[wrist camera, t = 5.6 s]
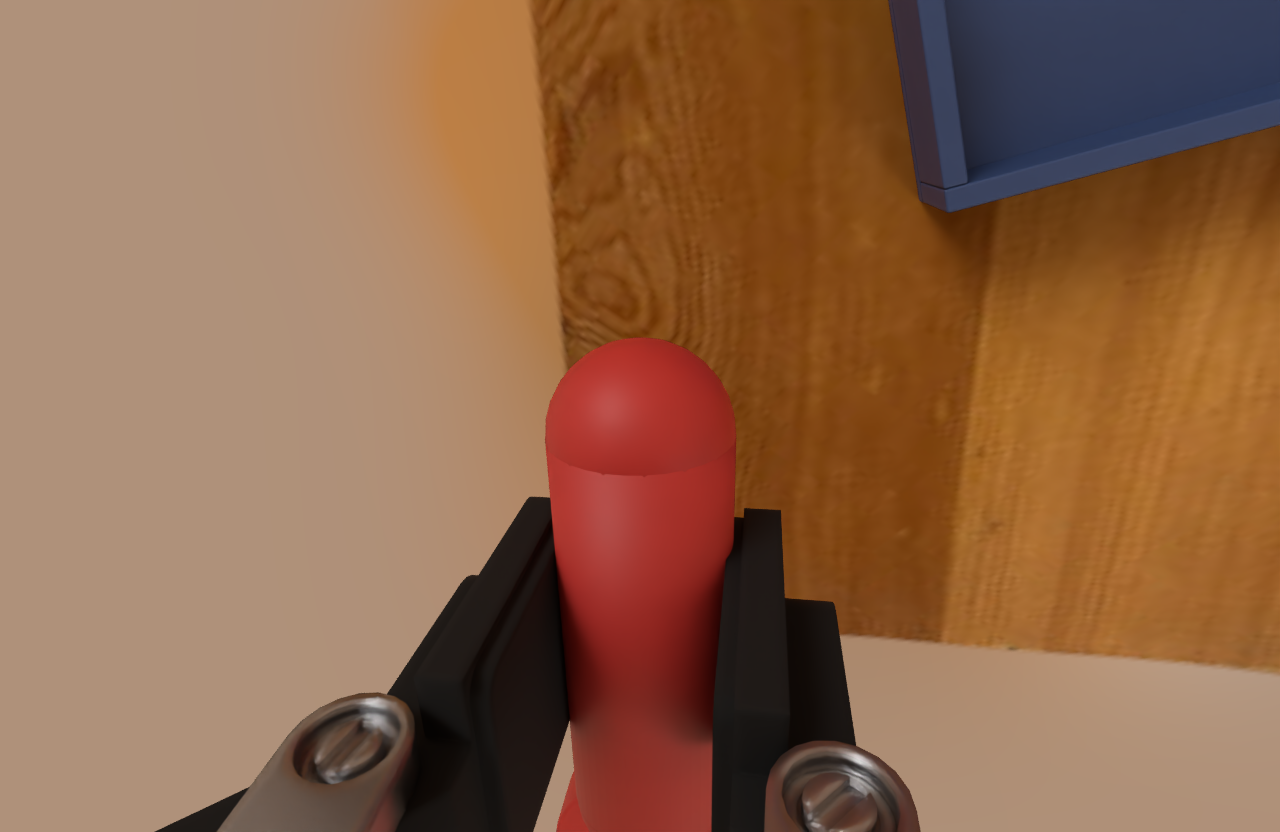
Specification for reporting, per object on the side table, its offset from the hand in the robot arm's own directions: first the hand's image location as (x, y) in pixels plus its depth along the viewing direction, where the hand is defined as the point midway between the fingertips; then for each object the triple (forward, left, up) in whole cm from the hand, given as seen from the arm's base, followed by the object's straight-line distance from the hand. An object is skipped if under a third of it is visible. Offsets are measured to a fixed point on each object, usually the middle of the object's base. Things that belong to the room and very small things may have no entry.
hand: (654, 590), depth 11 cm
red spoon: (+2, 0, 0) cm, 2 cm away
